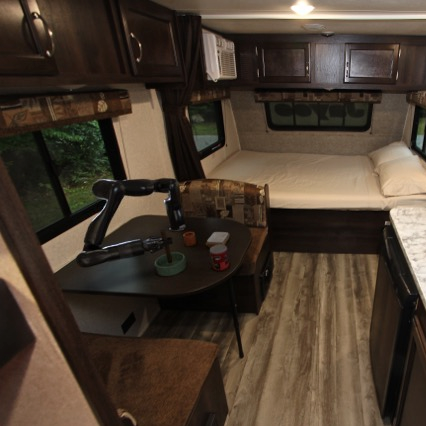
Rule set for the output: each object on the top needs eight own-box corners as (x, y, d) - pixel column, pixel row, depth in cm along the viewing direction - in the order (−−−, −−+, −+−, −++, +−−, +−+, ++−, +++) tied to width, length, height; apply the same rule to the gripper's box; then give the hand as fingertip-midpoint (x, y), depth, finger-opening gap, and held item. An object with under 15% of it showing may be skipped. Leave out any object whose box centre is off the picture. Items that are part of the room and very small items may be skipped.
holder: (184, 242, 170) (182, 233, 167) (195, 240, 173) (193, 230, 170) (186, 247, 165) (184, 237, 163) (197, 244, 168) (195, 235, 165)
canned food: (210, 266, 150) (207, 248, 145) (224, 260, 155) (221, 242, 150) (217, 273, 145) (214, 254, 140) (231, 266, 150) (229, 248, 145)
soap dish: (223, 250, 164) (222, 242, 161) (206, 249, 164) (204, 241, 162) (230, 239, 175) (229, 231, 173) (214, 238, 175) (213, 231, 173)
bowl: (156, 264, 150) (153, 256, 148) (184, 257, 156) (182, 249, 154) (157, 279, 140) (155, 270, 138) (188, 270, 146) (186, 262, 144)
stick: (168, 261, 147) (160, 230, 139) (172, 260, 148) (164, 229, 140) (168, 263, 145) (160, 232, 138) (172, 262, 146) (165, 231, 139)
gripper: (129, 249, 128) (172, 239, 136) (129, 235, 139) (169, 227, 147) (133, 263, 131) (175, 253, 139) (133, 249, 142) (172, 240, 150)
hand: (172, 240), depth 143 cm, fingers closed on stick, 2 cm apart
